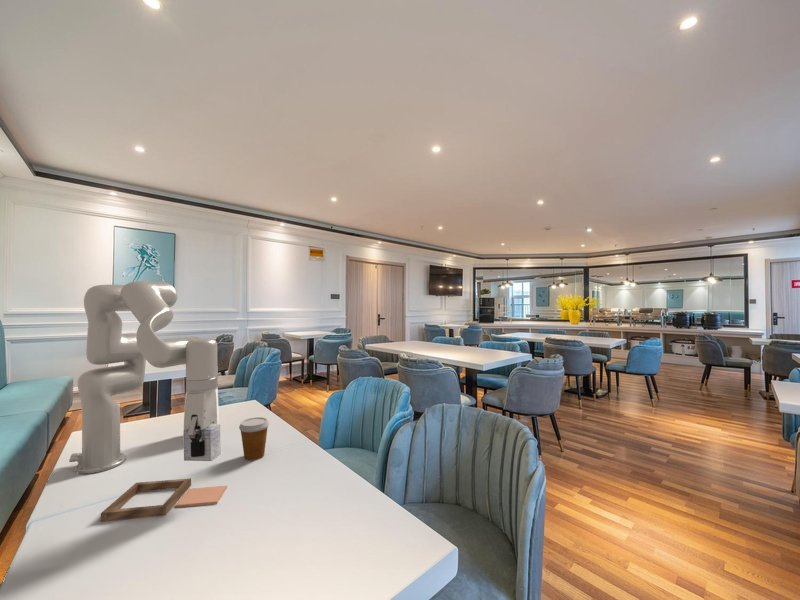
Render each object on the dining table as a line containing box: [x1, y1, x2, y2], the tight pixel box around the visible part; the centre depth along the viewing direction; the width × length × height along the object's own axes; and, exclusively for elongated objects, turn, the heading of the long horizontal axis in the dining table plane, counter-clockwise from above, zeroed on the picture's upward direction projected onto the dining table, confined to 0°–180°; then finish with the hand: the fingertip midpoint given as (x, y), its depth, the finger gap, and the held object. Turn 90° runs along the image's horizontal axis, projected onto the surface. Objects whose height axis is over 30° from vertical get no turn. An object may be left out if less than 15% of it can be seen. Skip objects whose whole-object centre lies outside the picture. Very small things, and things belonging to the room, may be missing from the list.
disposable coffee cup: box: [238, 416, 270, 461], centre depth 119 cm, size 10×10×12 cm
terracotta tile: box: [175, 485, 228, 508], centre depth 94 cm, size 10×8×1 cm
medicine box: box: [183, 423, 222, 462], centre depth 95 cm, size 8×4×9 cm, turn 85°
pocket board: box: [100, 477, 192, 522], centre depth 92 cm, size 14×14×2 cm
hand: (202, 450), depth 95 cm, fingers closed on medicine box, 5 cm apart
